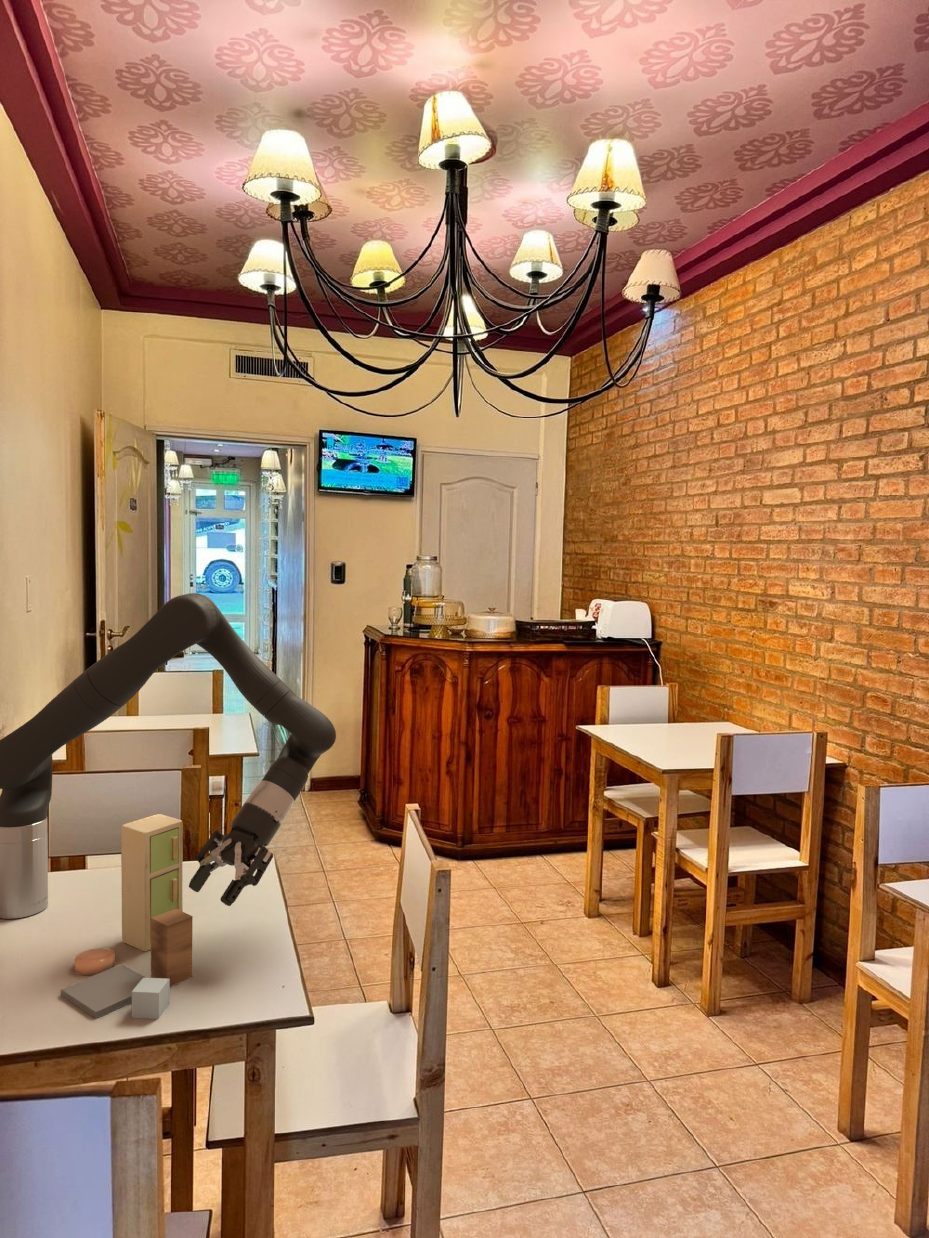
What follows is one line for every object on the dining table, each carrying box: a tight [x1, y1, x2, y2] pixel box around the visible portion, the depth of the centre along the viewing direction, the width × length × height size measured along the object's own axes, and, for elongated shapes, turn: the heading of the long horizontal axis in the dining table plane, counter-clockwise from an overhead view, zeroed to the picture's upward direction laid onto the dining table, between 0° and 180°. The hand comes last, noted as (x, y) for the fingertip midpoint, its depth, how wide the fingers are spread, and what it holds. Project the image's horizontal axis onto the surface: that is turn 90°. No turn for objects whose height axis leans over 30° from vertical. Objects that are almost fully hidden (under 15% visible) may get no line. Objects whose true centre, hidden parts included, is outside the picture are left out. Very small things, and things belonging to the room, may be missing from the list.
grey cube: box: [131, 977, 171, 1019], centre depth 120 cm, size 4×4×4 cm
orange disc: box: [73, 947, 115, 976], centre depth 132 cm, size 6×6×2 cm
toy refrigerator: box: [120, 813, 184, 952], centre depth 141 cm, size 8×7×21 cm
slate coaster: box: [60, 963, 147, 1019], centre depth 124 cm, size 10×10×1 cm
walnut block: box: [150, 909, 193, 987], centre depth 129 cm, size 4×4×10 cm
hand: (208, 896), depth 134 cm, fingers open, 8 cm apart
